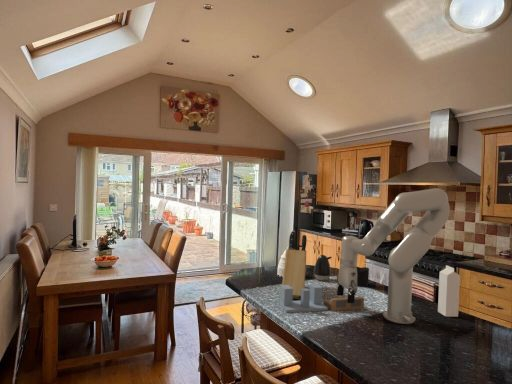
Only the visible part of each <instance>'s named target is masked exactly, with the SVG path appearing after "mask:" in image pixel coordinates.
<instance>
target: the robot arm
mask: <svg viewBox="0 0 512 384" xmlns="http://www.w3.org/2000/svg"><path fill="white" fill-rule="evenodd" d="M450 208H451V207H450V203H449V196H448V194H447V192H446V191H445V190H443V189H442V188H437V187H436V188H434V187H433V188H429V189H428V188H427V189H423V190H414V191H409V192H401V193H399V194H398V195H396V196H395V198H394V199H393V201H391V203H390V204H389V205H388V206H387V208H385V210H384V211H383V212H382V213H381V214H380V216H379V217H378V219H377V221H376V222H375V223H374V225H373V226H372V228H371V229H370V230H369V231H368V232H367V234H366V235H365V236H364V237H363V238H358V237H356V236H353V235H344V236H342V238H341V246H340V247H341V249H340V261H339V268H338V274H337V275H336V283H337V285H336V286H337V288H336V290H337V291H336V295H337V296H344V292H345V289H347V291H348V293H347V298H348V299H347V303H354V298H355V297H356V294H357V291H358V289H359V286H357V268H356V267H358V266H357V265H358V255H361V256H363V257H369V256H372V255H373V254H374V253H375V251H376V250H377V249H378V247H379V246H380V245H381V244H382V243H383V242H384V241H385V240H386V239H387V238H388V236H389V235H391V233H392V234H393V232H395V230H396V229H398V228H399V226H400V225H401V224H402V223H403V222H404V220H405V219H406V218H407V217H408V216H409V215H410V214H411V213H419V212H421V213H422V212H425V213H424V214H423V215H422V216H421V218H420V219H419V220H418V221H417V222H416V223H415V225H414V226H412V228H411V229H410V230H409V231H408V232H407V233H406V236H405V237H404V238H403V239H402V240H401V241H400V243H399V244H398V245H397V246H395V247H394V248H392V249H391V250H390V252H389V255H388V261H387V263H388V265H389V266H388V280H387V281H388V282H387V283H388V285H387V286H388V287H387V305H386V306H387V307H386V310H387V311H384V312H383V313H382V316H383V317H384V319H385V320H387V321H390V322H392V323H396V324H400V325H401V324H402V325H411V324H414V322H415V321H416V317H414V316H413V311H412V293H413V292H412V291H413V275H414V274H413V273H414V271H413V270H414V266H415V265H417V263H418V262H419V261H420V260H421V259H422V258H423V256H425V255H426V253H427V252H428V251H429V249H430V248H431V246H432V240H433V239H434V238H435V237H436V236H437V235H438V234H439V232H440V231H441V230H442V229H443V227H444V226H445V224H446V223H447V221H448V220H449V217H450V212H451V210H450Z"/></svg>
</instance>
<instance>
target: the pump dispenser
mask: <svg viewBox="0 0 512 384" xmlns="http://www.w3.org/2000/svg"><path fill="white" fill-rule="evenodd" d="M332 257H333V256H328V257H327V255H325V254H321V255H319V256H318V258H317V260H316V261H315V263H314V268H313V269H314V270H313V274H314V278H315V279H316V280H317V281H321V282H325V281H328V280H329V279H330V276H331V275H332V270H331V264H330V261H329V260H331V259H332Z"/></svg>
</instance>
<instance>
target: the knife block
mask: <svg viewBox="0 0 512 384" xmlns="http://www.w3.org/2000/svg"><path fill="white" fill-rule="evenodd" d="M307 240H308V239H307V235H306V234H304V235H302V236H301V244H299V245H297V246H296V231H295V230H292V231H291V232H290V234H289V239H288V246H287V247H288V249H287V248H286V249H287V250H286V249H285V250H286V256H285V264H284V273H283V277H282V284H281V285H289V286H290V287H292V288H293V300H301V289H305V286H306V285H305V284H306V283H305V282H306V272H307V271H306V268H307V267H306V266H307V250H306V247H307ZM300 248H301V250H300Z"/></svg>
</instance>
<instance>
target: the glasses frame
mask: <svg viewBox="0 0 512 384" xmlns="http://www.w3.org/2000/svg"><path fill="white" fill-rule="evenodd" d="M347 299H348V297H335V298H331V299H330V301H329V300H328V299H323V304H324V305H325V306H326V307H328V309H330V310H331V312H333V311H336V312H337V311H348V310H349V311H350V310H352V311H353V310H364V308H365V297H363V296H360V297H359V296H357V297H356V296H355V298H354V303H347Z"/></svg>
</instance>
